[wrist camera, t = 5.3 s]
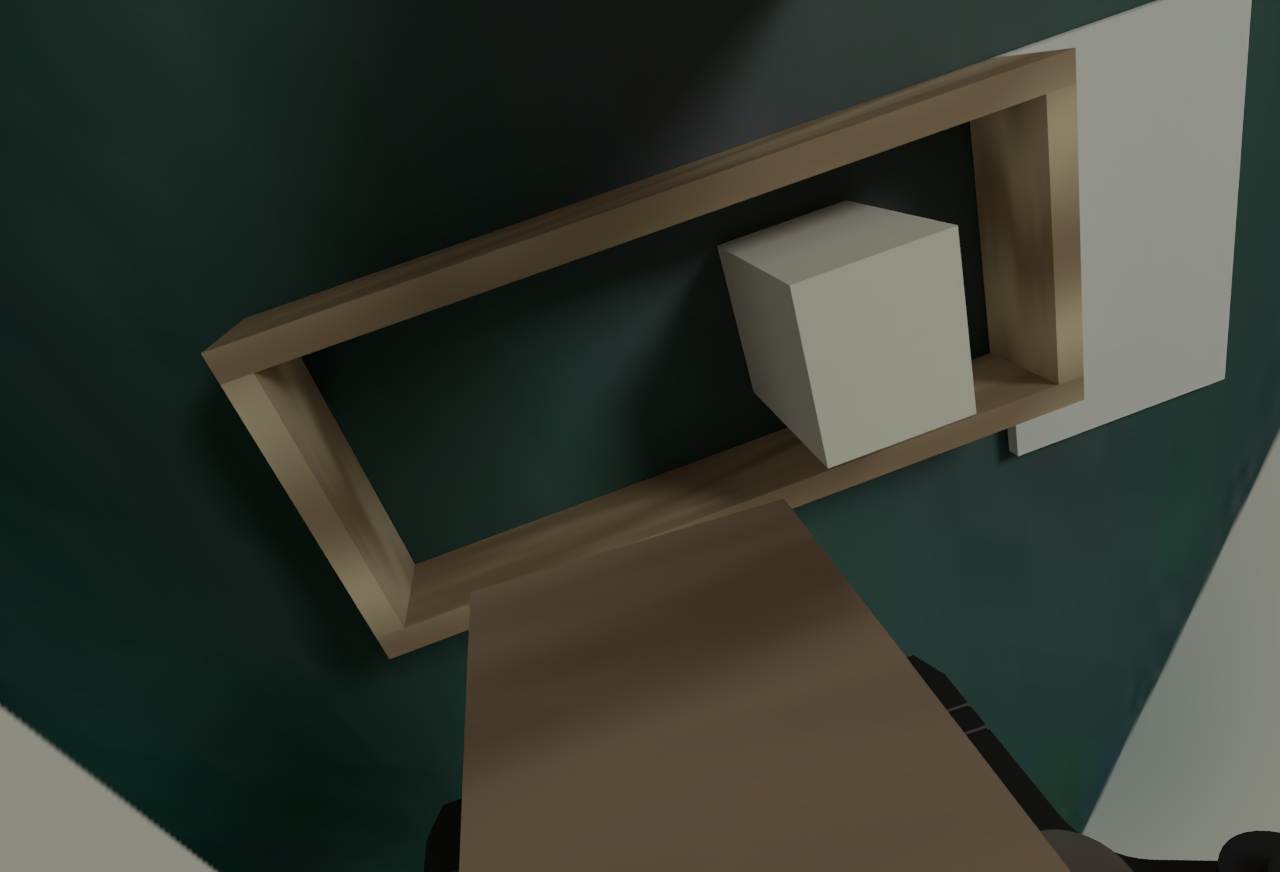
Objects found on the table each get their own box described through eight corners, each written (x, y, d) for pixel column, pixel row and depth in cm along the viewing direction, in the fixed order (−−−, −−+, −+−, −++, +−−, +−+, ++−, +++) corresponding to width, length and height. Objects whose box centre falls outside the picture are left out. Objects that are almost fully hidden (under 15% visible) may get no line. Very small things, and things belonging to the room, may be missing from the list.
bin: (244, 318, 24) (200, 353, 20) (991, 57, 25) (1075, 47, 21) (402, 592, 29) (389, 659, 25) (1013, 366, 30) (1084, 399, 27)
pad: (978, 62, 25) (989, 61, 24) (1237, -28, 25) (1253, -32, 25) (1009, 450, 32) (1018, 456, 31) (1212, 374, 32) (1224, 378, 32)
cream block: (716, 245, 26) (789, 285, 20) (845, 200, 26) (958, 225, 20) (753, 391, 29) (828, 468, 22) (870, 349, 29) (976, 413, 22)
